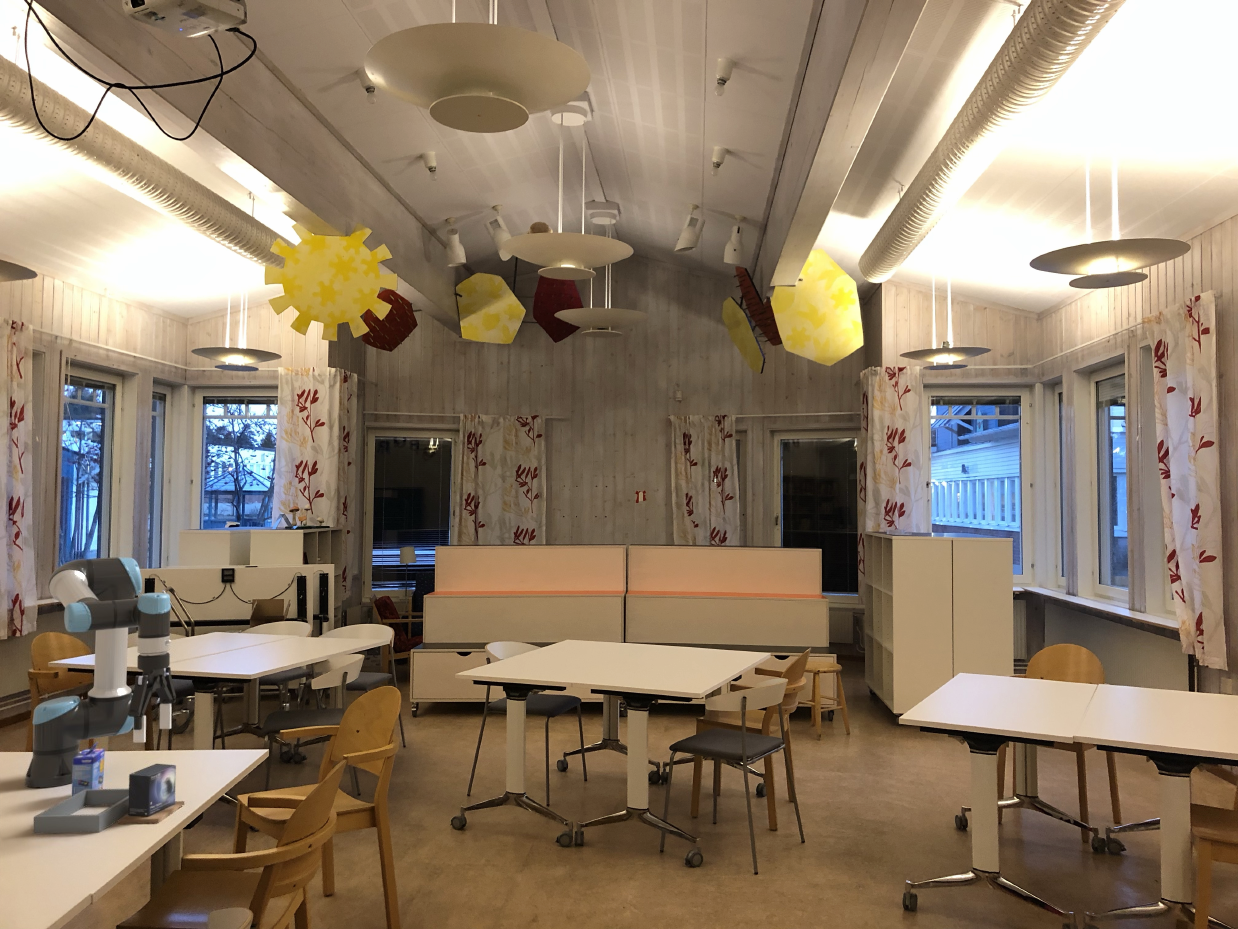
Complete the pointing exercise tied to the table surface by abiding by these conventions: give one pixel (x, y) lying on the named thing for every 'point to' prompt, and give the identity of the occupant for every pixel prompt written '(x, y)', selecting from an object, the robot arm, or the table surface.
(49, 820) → the bin
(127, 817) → the board
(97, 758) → the ink cartridge box
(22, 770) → the table surface
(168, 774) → the small box
